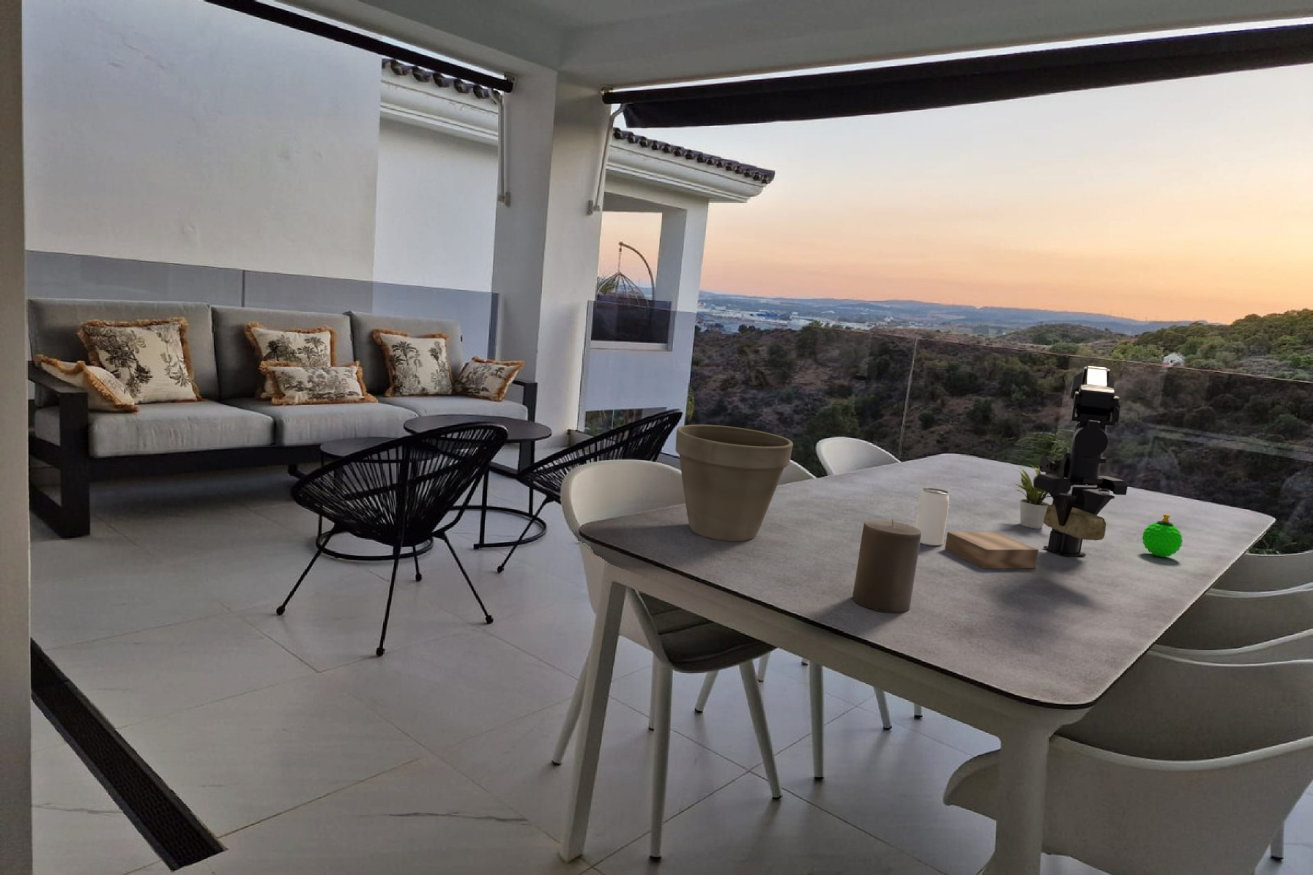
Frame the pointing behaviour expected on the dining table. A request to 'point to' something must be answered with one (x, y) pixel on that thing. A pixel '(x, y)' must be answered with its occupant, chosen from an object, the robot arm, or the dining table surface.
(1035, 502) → the house plant
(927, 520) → the can
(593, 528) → the dining table surface
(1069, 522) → the stone block
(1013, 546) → the plinth
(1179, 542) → the ornament
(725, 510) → the plant pot
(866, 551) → the pillar candle
